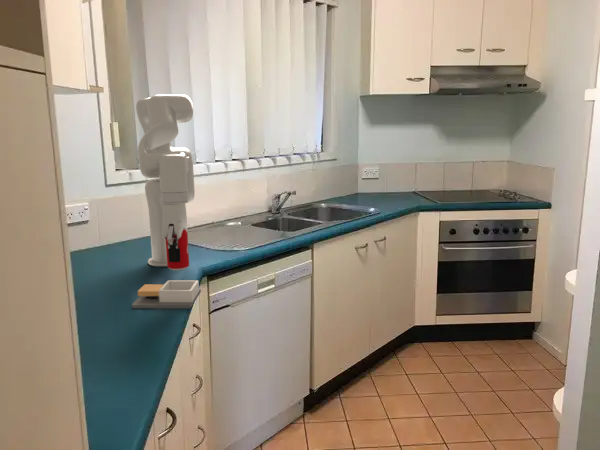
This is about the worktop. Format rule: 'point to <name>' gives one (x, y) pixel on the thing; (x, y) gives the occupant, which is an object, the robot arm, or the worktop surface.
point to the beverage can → (183, 253)
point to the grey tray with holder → (172, 295)
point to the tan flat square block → (150, 290)
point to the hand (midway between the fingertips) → (177, 258)
